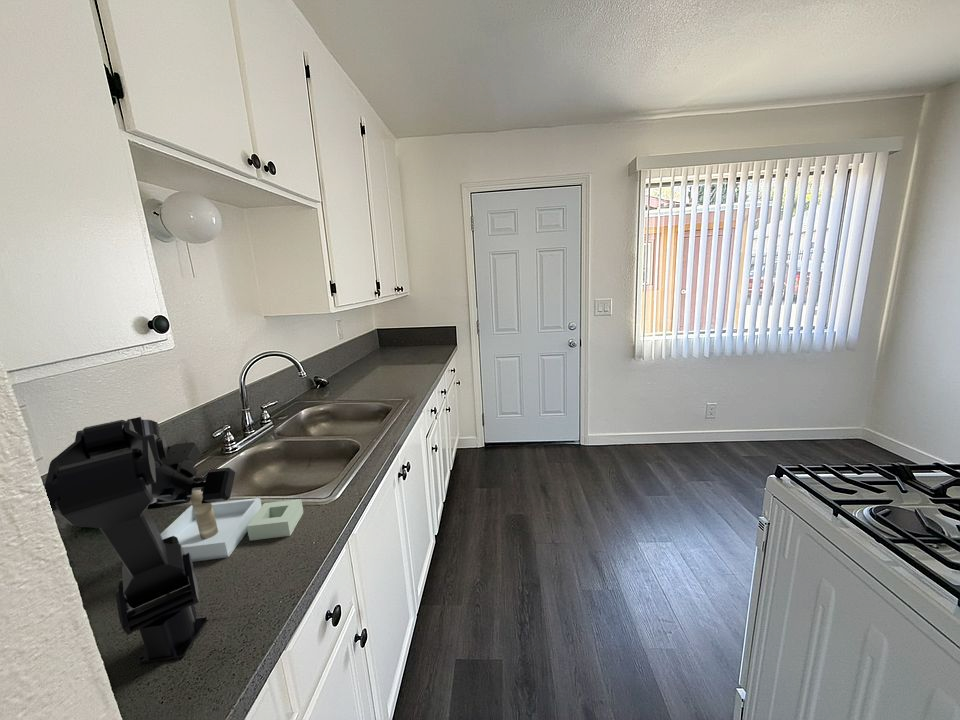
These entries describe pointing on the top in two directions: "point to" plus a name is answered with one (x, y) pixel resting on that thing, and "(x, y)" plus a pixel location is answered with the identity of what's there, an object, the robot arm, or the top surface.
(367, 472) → the top surface
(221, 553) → the tray
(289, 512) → the dowel block
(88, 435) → the robot arm
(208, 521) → the dowel
